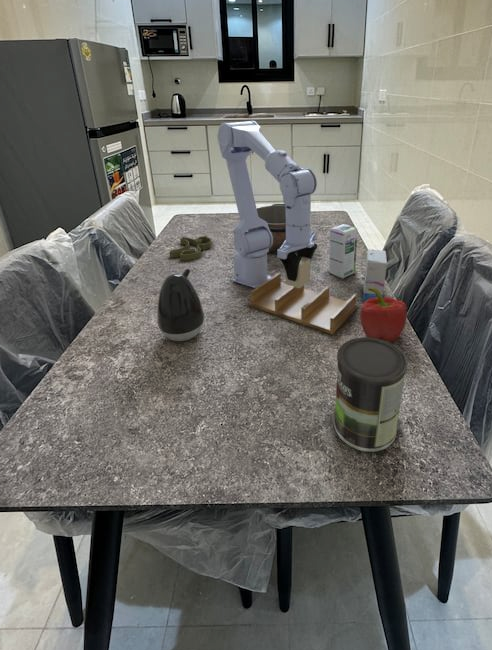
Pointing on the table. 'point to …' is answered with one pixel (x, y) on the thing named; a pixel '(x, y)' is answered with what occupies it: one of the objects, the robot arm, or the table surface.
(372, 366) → the coffee can
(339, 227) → the syrup box
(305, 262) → the block
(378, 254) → the ink box
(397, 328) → the vegetable
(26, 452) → the table surface
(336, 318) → the dish rack
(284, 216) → the cooking pot
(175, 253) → the cookie cutter
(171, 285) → the black rounded egg shape
